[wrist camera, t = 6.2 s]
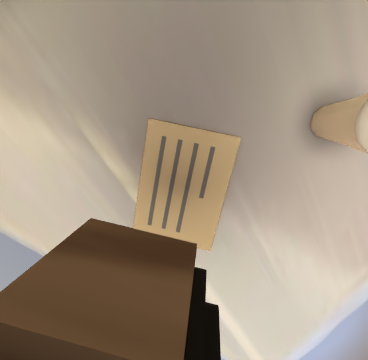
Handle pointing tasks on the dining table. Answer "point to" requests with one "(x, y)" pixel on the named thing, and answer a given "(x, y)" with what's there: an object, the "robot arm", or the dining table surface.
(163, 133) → the letter
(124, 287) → the walnut block
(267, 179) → the dining table surface
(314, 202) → the dining table surface
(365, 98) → the milkshake
